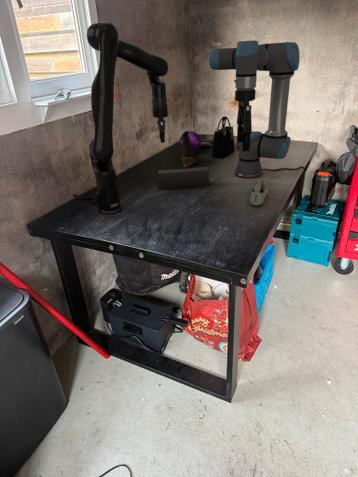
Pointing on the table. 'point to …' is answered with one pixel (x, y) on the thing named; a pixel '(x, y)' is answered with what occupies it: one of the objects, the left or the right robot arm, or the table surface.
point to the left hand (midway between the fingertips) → (162, 140)
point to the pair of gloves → (207, 141)
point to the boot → (187, 151)
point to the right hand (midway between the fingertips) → (242, 146)
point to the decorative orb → (193, 141)
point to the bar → (183, 178)
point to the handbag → (223, 140)
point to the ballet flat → (258, 193)
